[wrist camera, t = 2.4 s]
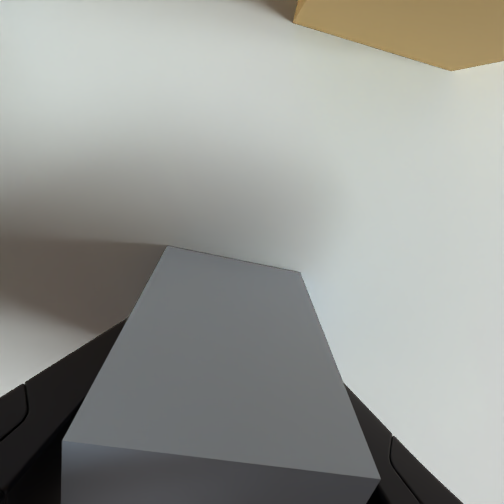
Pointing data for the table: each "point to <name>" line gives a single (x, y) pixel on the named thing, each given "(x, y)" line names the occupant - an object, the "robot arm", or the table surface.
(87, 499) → the slate block
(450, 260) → the table surface
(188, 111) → the table surface
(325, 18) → the ochre block
